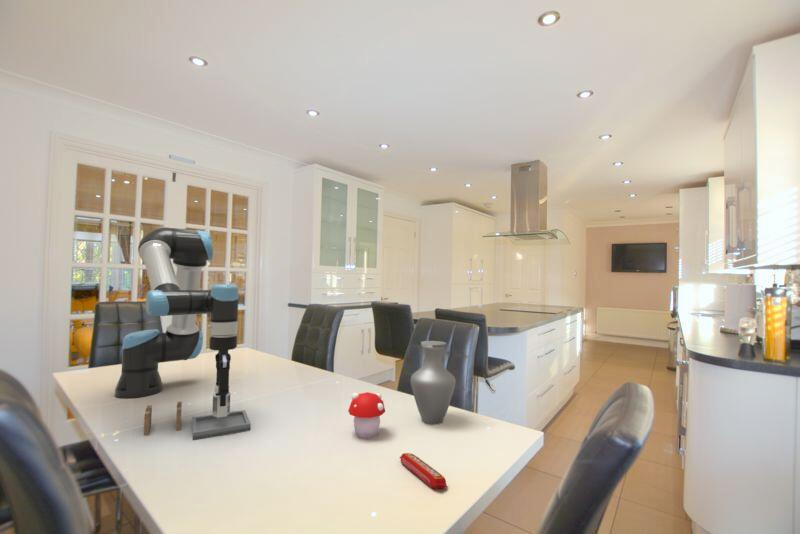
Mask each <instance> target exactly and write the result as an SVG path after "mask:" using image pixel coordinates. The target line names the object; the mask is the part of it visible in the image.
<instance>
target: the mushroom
mask: <svg viewBox="0 0 800 534" xmlns="http://www.w3.org/2000/svg"><path fill="white" fill-rule="evenodd" d="M382 397H383V396H382V394H381V392H380V393H379V392H376V393H373V392H369V391H366V392H363V393H362V392H361V393H358V392H353V393H352V394H351V399H352V400H351V402H350V405H349V408H348V411H347V412H348V413H349V416H353V426H354V433H355V437H358V438H361V439H372V438H375V437H377V436H378V435H379V431H380V424H381V416H382V415H384V414H385V412H386V408H385V404H384V400H382Z"/></svg>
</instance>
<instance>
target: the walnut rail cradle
mask: <svg viewBox="0 0 800 534" xmlns="http://www.w3.org/2000/svg"><path fill="white" fill-rule="evenodd" d="M182 403H183V401H177V402H176V414H175V415H176V418H175V431H181V430H182V429H181V428H182ZM152 409H153V404H148V405H146V408H145V411H144V421H143V423H144V424H143V436H149V435H150V431H151V427H152V416H153V415H152V412H153V410H152Z"/></svg>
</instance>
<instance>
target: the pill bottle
mask: <svg viewBox="0 0 800 534" xmlns="http://www.w3.org/2000/svg"><path fill="white" fill-rule="evenodd" d="M217 393H218V386H217V385H215V387H214V393H213V394H212V410H211V411H212V412H211V413H212V414H211V415H213V416H214V417H217V397H218V396H216V394H217ZM230 409H231V392H230V391H229V393H228V406H227V415H228V414H229V413H230V412H231V411H230Z"/></svg>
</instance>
